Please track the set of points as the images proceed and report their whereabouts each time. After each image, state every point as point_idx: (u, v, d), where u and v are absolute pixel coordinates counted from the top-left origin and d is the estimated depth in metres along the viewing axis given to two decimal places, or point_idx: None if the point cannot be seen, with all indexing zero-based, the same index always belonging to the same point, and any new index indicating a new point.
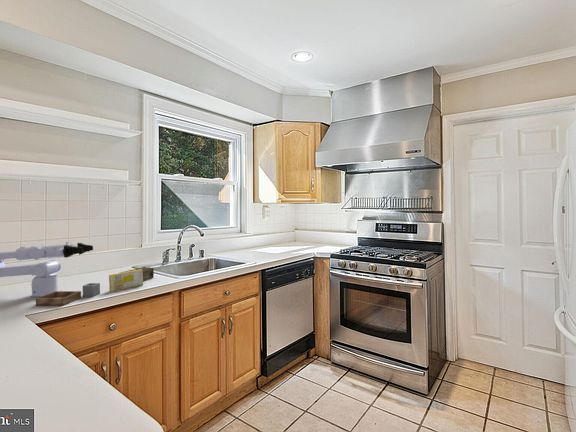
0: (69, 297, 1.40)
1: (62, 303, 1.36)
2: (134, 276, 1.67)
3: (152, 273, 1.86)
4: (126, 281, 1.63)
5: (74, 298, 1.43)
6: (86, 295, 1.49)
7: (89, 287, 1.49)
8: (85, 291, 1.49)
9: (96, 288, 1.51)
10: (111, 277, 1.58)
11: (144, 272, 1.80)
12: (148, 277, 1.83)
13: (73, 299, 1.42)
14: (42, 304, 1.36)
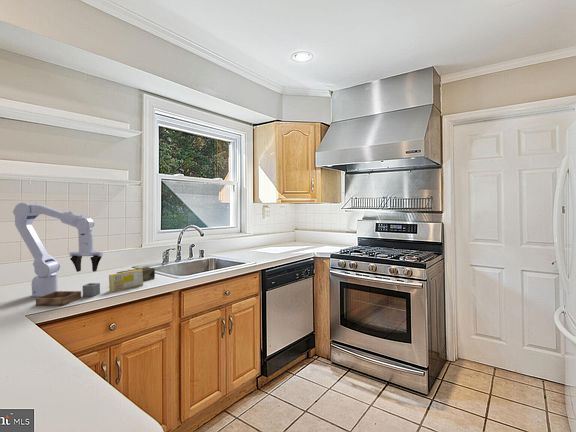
0: (69, 297, 1.40)
1: (62, 303, 1.36)
2: (134, 276, 1.67)
3: (153, 273, 1.85)
4: (126, 281, 1.63)
5: (74, 298, 1.43)
6: (86, 295, 1.49)
7: (89, 287, 1.49)
8: (85, 291, 1.49)
9: (96, 288, 1.51)
10: (111, 277, 1.58)
11: (143, 272, 1.79)
12: (148, 277, 1.82)
13: (73, 299, 1.42)
14: (42, 304, 1.36)
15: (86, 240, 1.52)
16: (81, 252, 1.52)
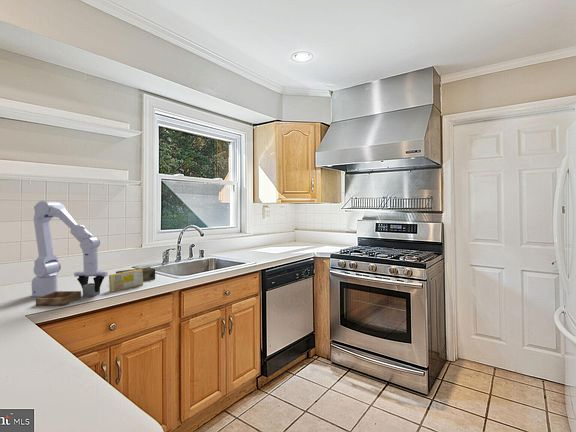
0: (69, 297, 1.40)
1: (62, 303, 1.36)
2: (134, 276, 1.67)
3: (153, 274, 1.83)
4: (126, 281, 1.63)
5: (74, 298, 1.43)
6: (86, 295, 1.49)
7: (89, 287, 1.49)
8: (85, 291, 1.49)
9: None
10: (111, 277, 1.58)
11: None
12: (147, 278, 1.81)
13: (73, 299, 1.42)
14: (42, 304, 1.36)
15: (90, 260, 1.49)
16: (86, 272, 1.48)
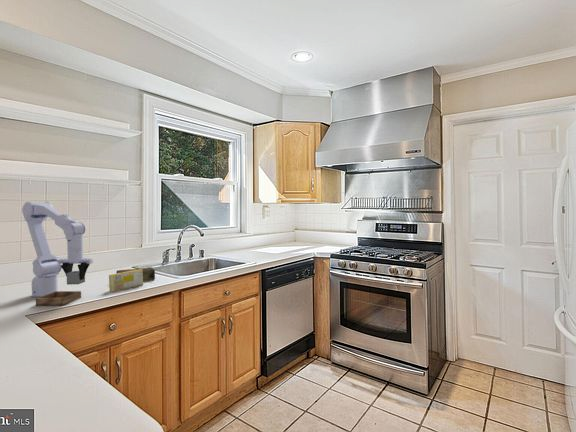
0: (69, 297, 1.40)
1: (62, 303, 1.36)
2: (134, 276, 1.67)
3: (152, 275, 1.81)
4: (126, 281, 1.63)
5: (74, 298, 1.43)
6: (70, 283, 1.44)
7: (73, 275, 1.44)
8: (69, 279, 1.44)
9: None
10: (111, 277, 1.58)
11: None
12: (146, 278, 1.80)
13: (73, 299, 1.42)
14: (42, 304, 1.36)
15: (72, 247, 1.43)
16: (70, 259, 1.43)
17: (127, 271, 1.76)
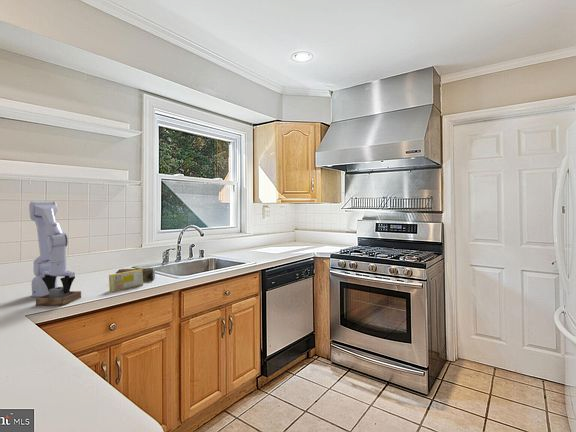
0: (69, 297, 1.40)
1: (62, 303, 1.36)
2: (134, 276, 1.67)
3: (150, 276, 1.79)
4: (126, 281, 1.63)
5: (74, 298, 1.43)
6: None
7: (55, 291, 1.39)
8: (51, 295, 1.40)
9: (63, 292, 1.41)
10: (111, 277, 1.58)
11: None
12: (144, 279, 1.79)
13: (73, 299, 1.42)
14: (42, 304, 1.36)
15: (52, 259, 1.38)
16: (51, 272, 1.39)
17: (126, 271, 1.77)
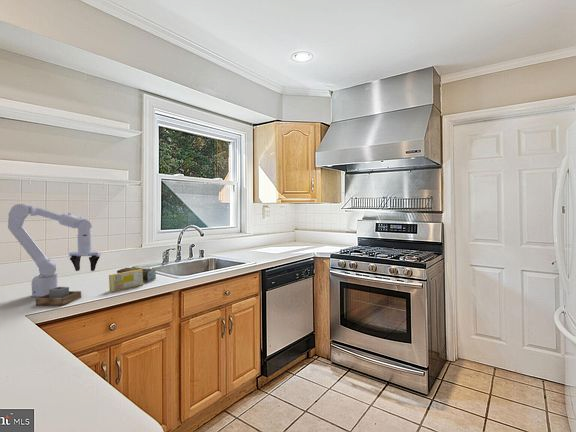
0: (69, 297, 1.40)
1: (62, 303, 1.36)
2: (134, 276, 1.67)
3: (145, 277, 1.76)
4: (126, 281, 1.63)
5: (74, 298, 1.43)
6: None
7: (55, 291, 1.39)
8: (51, 295, 1.40)
9: (63, 292, 1.41)
10: (111, 277, 1.58)
11: None
12: None
13: (73, 299, 1.42)
14: (42, 304, 1.36)
15: (88, 240, 1.60)
16: (80, 252, 1.58)
17: (126, 270, 1.80)
